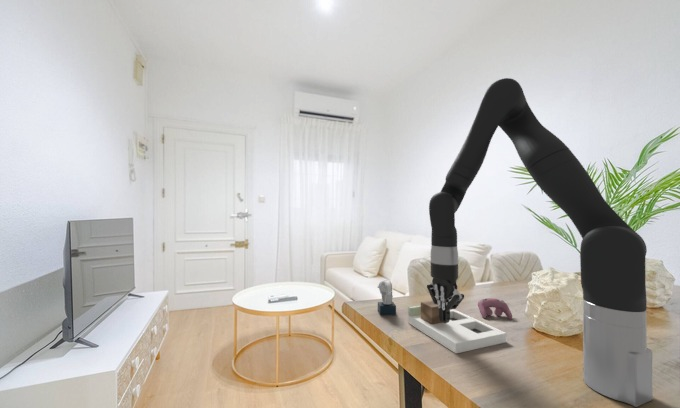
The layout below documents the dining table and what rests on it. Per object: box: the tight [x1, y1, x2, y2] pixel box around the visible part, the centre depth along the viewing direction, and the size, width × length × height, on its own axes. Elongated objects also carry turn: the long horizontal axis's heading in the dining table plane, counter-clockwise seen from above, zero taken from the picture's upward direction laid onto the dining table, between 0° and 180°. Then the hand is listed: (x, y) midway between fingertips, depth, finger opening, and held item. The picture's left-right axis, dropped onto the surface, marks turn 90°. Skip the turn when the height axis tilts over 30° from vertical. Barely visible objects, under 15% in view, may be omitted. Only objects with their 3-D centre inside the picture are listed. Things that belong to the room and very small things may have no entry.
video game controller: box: [477, 297, 513, 321], centre depth 95 cm, size 10×5×7 cm, turn 85°
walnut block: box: [420, 299, 443, 325], centre depth 84 cm, size 5×5×5 cm
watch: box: [377, 280, 397, 316], centre depth 97 cm, size 6×8×11 cm
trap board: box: [407, 304, 507, 354], centre depth 82 cm, size 20×18×5 cm
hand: (444, 321), depth 79 cm, fingers closed
